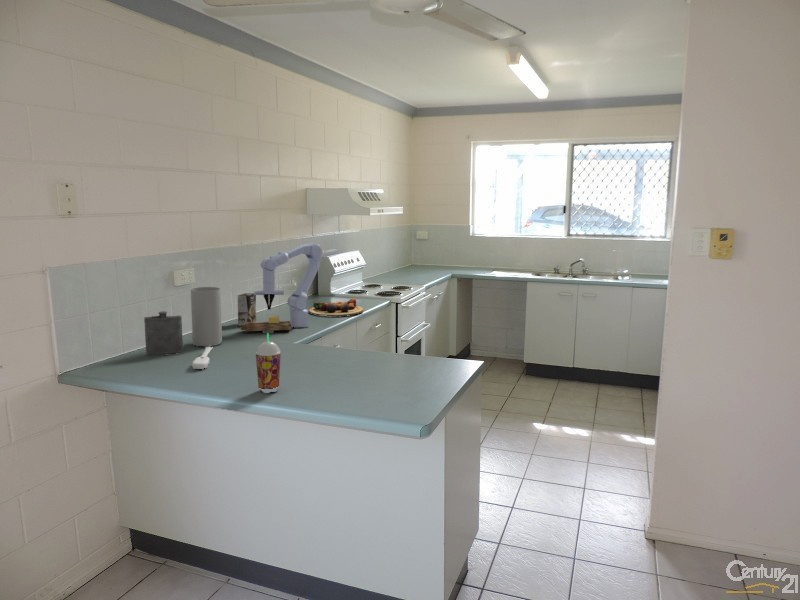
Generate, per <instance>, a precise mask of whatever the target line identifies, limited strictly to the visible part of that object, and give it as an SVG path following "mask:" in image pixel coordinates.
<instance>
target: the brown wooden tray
mask: <svg viewBox="0 0 800 600" xmlns="http://www.w3.org/2000/svg"><path fill="white" fill-rule="evenodd" d="M265 330H273V331H288V330H292V328H291V323H290V320H287V321H286V320H284V321H282V320H281V321H280V320H279V324H275V323H273V324H269V321H256V322H245V324H241V326H240V331H244V332H258V331H259V332H260V331H262V332H263V331H265Z"/></svg>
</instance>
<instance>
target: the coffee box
mask: <svg viewBox="0 0 800 600" xmlns="http://www.w3.org/2000/svg"><path fill="white" fill-rule="evenodd" d="M245 322H257V295H254V292H251V293H248V292H246V293H241V294H238V295H237V326H239V327H241V324H245Z"/></svg>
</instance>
